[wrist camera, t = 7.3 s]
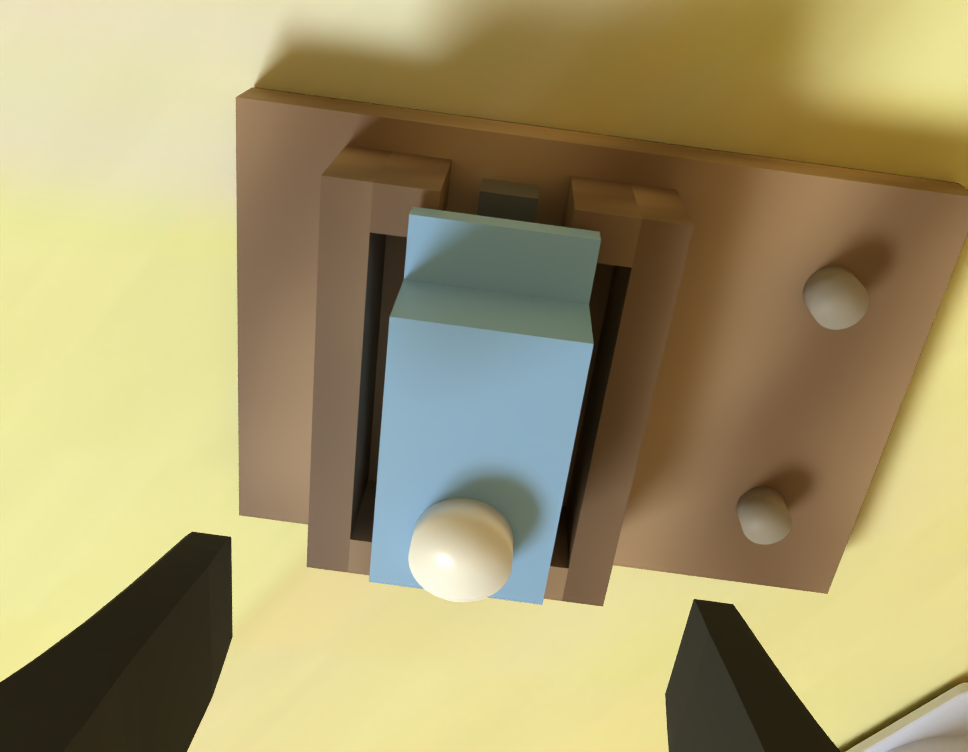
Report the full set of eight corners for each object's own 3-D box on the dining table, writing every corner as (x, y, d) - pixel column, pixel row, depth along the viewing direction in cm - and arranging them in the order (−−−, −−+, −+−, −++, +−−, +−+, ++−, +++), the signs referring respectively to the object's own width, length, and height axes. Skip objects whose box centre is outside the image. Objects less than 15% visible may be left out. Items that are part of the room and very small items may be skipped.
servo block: (429, 165, 19) (389, 254, 14) (593, 188, 19) (611, 284, 14) (398, 493, 23) (359, 653, 18) (535, 511, 23) (533, 676, 18)
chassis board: (957, 183, 20) (1038, 236, 17) (815, 565, 25) (855, 662, 22) (252, 87, 20) (195, 121, 17) (251, 489, 25) (208, 576, 22)
